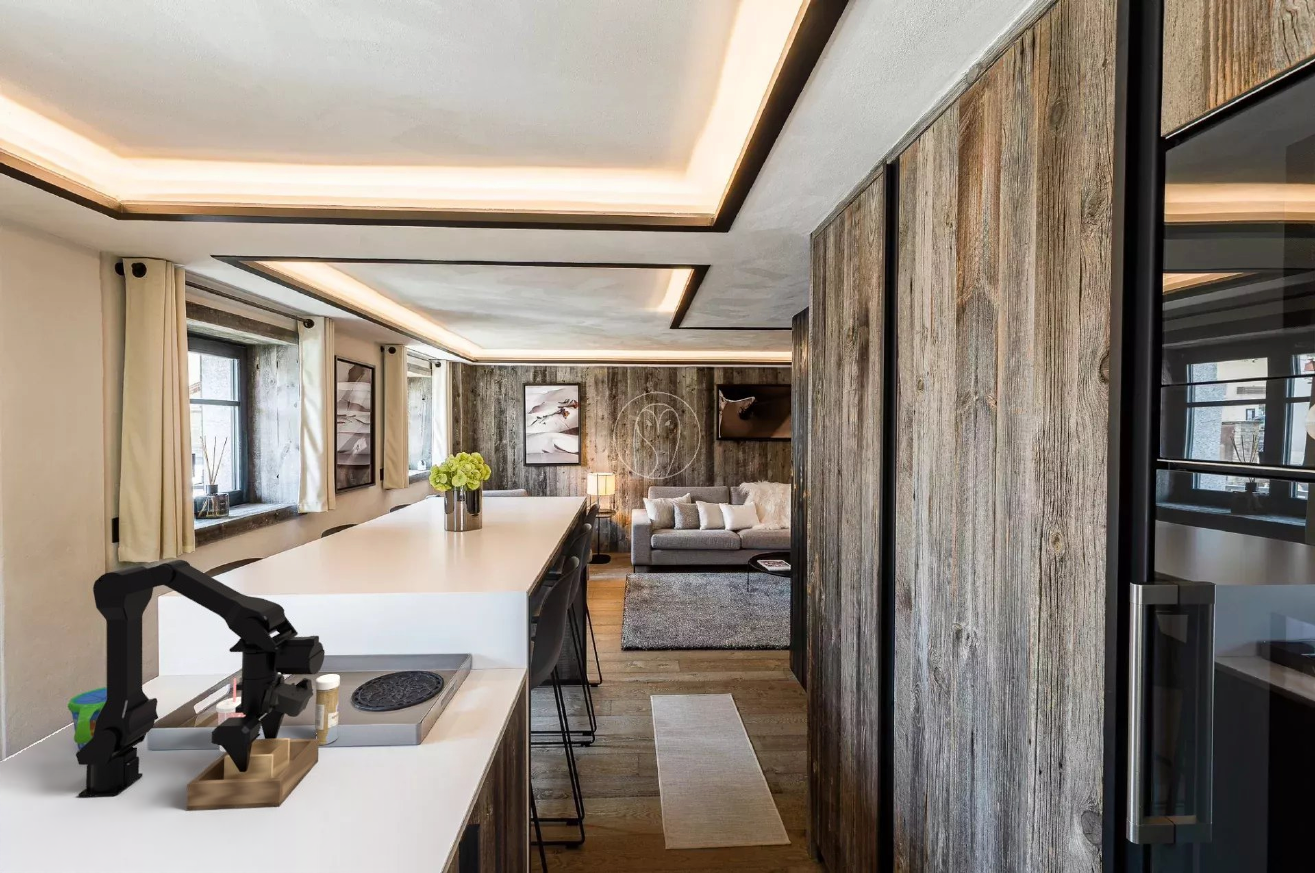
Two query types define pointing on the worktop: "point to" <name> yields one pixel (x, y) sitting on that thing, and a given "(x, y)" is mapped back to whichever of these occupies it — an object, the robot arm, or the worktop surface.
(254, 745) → the oak crate
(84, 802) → the worktop surface
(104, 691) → the snack cup
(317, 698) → the spice jar
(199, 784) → the walnut crate
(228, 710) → the beverage cup
